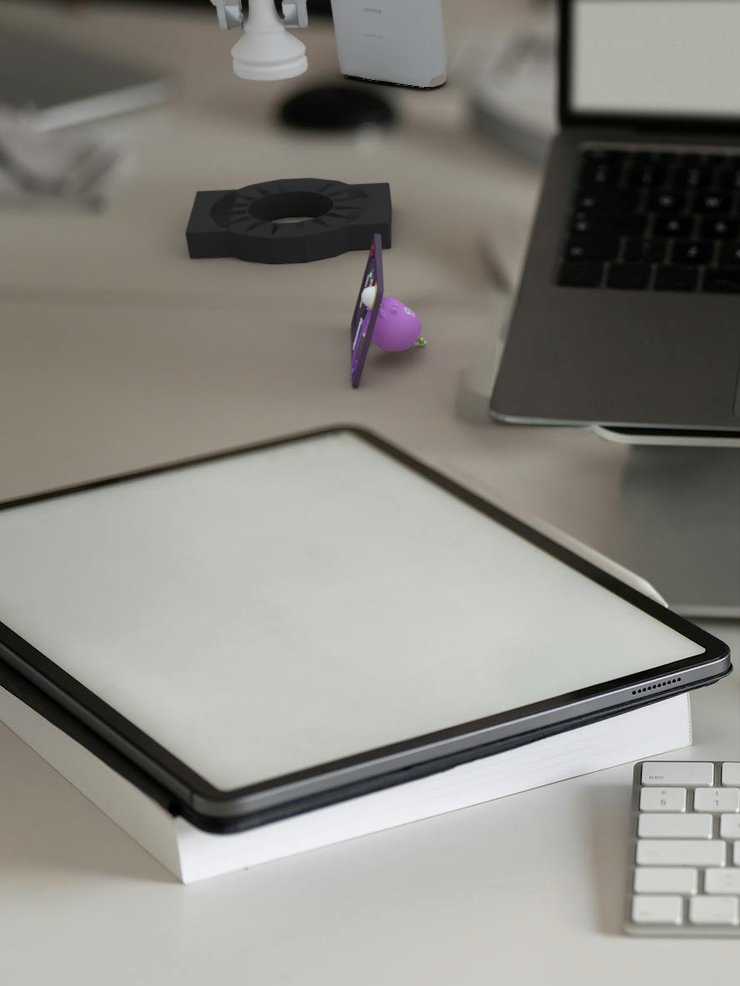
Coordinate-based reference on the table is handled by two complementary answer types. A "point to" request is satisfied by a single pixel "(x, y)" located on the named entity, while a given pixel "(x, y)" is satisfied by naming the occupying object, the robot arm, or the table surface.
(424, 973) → the table surface
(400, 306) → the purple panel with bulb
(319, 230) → the socket pad
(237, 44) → the chess pawn
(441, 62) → the photo printer
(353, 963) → the table surface
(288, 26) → the robot arm
